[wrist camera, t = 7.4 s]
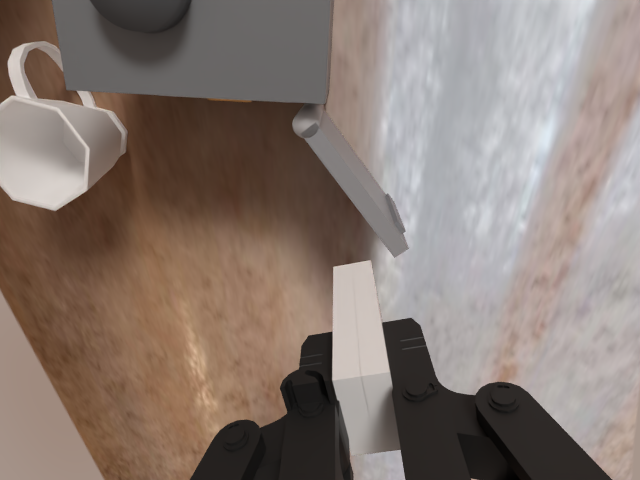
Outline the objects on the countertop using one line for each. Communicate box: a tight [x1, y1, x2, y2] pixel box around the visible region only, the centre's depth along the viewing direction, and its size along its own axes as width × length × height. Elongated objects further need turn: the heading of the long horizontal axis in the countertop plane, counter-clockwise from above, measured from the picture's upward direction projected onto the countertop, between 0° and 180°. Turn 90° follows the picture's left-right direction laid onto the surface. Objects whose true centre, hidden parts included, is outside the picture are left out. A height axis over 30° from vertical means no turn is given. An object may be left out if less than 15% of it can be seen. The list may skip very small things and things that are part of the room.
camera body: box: [52, 0, 334, 104], centre depth 25 cm, size 8×13×12 cm, turn 87°
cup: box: [0, 41, 128, 211], centre depth 30 cm, size 7×10×8 cm
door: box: [292, 103, 409, 258], centre depth 29 cm, size 2×10×9 cm, turn 37°
